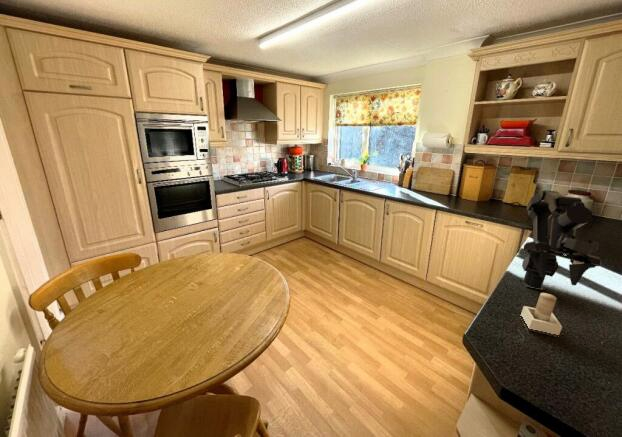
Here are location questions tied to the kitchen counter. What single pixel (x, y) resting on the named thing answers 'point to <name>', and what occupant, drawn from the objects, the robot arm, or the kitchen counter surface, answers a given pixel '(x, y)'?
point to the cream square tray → (540, 322)
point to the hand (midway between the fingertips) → (557, 280)
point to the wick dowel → (544, 307)
